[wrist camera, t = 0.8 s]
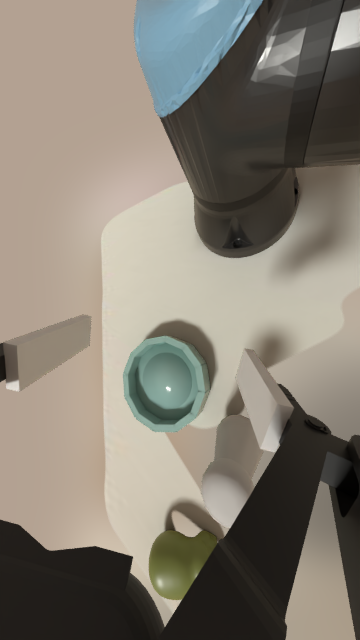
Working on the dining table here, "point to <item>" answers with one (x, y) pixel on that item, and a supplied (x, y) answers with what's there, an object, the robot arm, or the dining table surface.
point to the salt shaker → (231, 469)
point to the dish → (166, 383)
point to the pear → (178, 561)
